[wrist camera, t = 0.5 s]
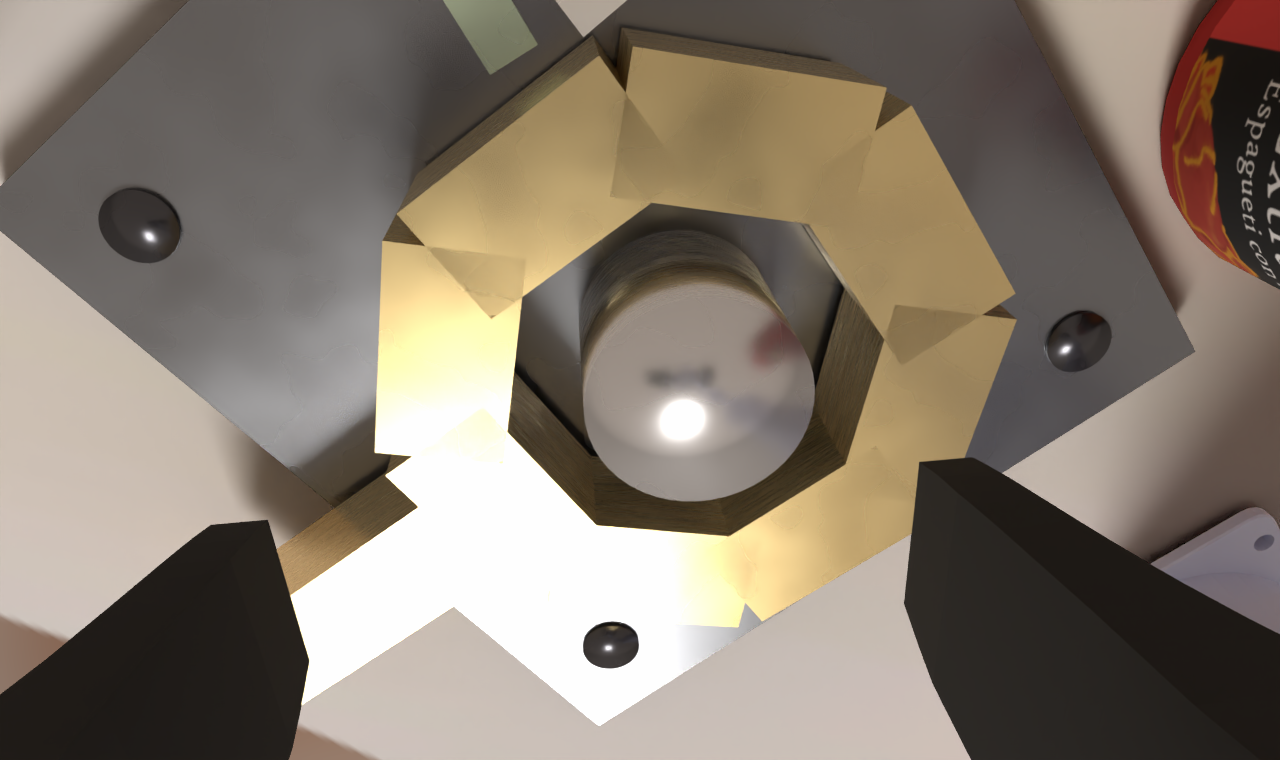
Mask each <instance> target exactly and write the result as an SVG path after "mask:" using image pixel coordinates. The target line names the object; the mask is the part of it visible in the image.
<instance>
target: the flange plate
mask: <svg viewBox="0 0 1280 760" xmlns="http://www.w3.org/2000/svg"><path fill="white" fill-rule="evenodd" d="M621 27H624V28H630V29H636V30H642V31H648V32H654V33H660V34H666V35H672V36H678V37H684V38H691V39H697V40H703V41H709V42H715V43H721V44H727V45H733V46H739V47H745V48H751V49H757V50H763V51H769V52H776V53H782V54H788V55H794V56H800V57H806V58H812V59H818V60H824V61H830V62H836V63H842V64H843V65H845V66H847V67H849V68H851V69H853V70H855V71H857V72H859V73H860V74H862V75H864V76H866V77H868V78H870V79H872V80H874V81H876V82H877V83H879V84H881V85H883V86H885V87H887V89H886V92H888V93H890V94H892V95H894V96H895V97H897V98H899V99H901V100H903V101H905V102H907V103H908V104H910V105H912V107H913V108H914V110H915V112H916V114H917V116H918V118H919V119H920V121H921V123H922V125H923V127H924V128H925V130H926V132H927V134H928V136H929V137H930V139H931V141H932V143H933V145H934V147H935V148H936V150H937V152H938V154H939V156H940V157H941V159H942V161H943V163H944V165H945V166H946V168H947V170H948V172H949V174H950V175H951V177H952V179H953V181H954V183H955V185H956V186H957V188H958V190H959V192H960V194H961V195H962V197H963V199H964V201H965V203H966V204H967V206H968V208H969V210H970V212H971V214H972V215H973V217H974V219H975V221H976V223H977V224H978V226H979V228H980V230H981V232H982V233H983V235H984V237H985V239H986V241H987V242H988V244H989V246H990V248H991V250H992V252H993V253H994V255H995V257H996V259H997V261H998V262H999V264H1000V266H1001V268H1002V270H1003V271H1004V273H1005V275H1006V277H1007V279H1008V281H1009V282H1010V284H1011V286H1012V288H1013V290H1014V291H1015V293H1016V294H1014V295H1013V296H1011V297H1009V298H1008V299H1006V300H1005V301H1003V302H1002V303H1000V305H1001V306H1002V307H1003V308H1004V309H1006V310H1007V311H1008V312H1009V313H1010V314H1011V315H1012V316H1013V317H1015V318H1016V319H1017V321H1016V323H1015V326H1014V329H1013V331H1012V334H1011V337H1010V339H1009V342H1008V344H1007V347H1006V350H1005V352H1004V355H1003V358H1002V360H1001V363H1000V365H999V368H998V371H997V373H996V376H995V379H994V381H993V384H992V387H991V389H990V392H989V394H988V397H987V400H986V402H985V405H984V408H983V410H982V413H981V416H980V418H979V421H978V423H977V426H976V429H975V431H974V434H973V437H972V439H971V442H970V444H969V447H968V450H967V452H966V455H965V458H968V457H973V458H975V459H977V460H979V461H981V462H983V463H985V464H986V465H988V466H990V467H992V468H993V469H995V470H997V471H999V472H1000V473H1003V472H1004V471H1006V470H1007V469H1009V468H1011V467H1012V466H1014V465H1015V464H1017V463H1019V462H1020V461H1022V460H1023V459H1025V458H1026V457H1028V456H1030V455H1031V454H1033V453H1034V452H1036V451H1038V450H1039V449H1041V448H1042V447H1044V446H1046V445H1047V444H1049V443H1050V442H1052V441H1054V440H1055V439H1057V438H1058V437H1060V436H1062V435H1063V434H1065V433H1066V432H1068V431H1070V430H1071V429H1073V428H1074V427H1076V426H1077V425H1079V424H1081V423H1082V422H1084V421H1085V420H1087V419H1089V418H1090V417H1092V416H1093V415H1095V414H1097V413H1098V412H1100V411H1101V410H1103V409H1105V408H1106V407H1108V406H1109V405H1111V404H1113V403H1114V402H1116V401H1117V400H1119V399H1121V398H1122V397H1124V396H1125V395H1127V394H1128V393H1130V392H1132V391H1133V390H1135V389H1136V388H1138V387H1140V386H1141V385H1143V384H1144V383H1146V382H1148V381H1149V380H1151V379H1152V378H1154V377H1156V376H1157V375H1159V374H1160V373H1162V372H1164V371H1165V370H1167V369H1168V368H1170V367H1172V366H1173V365H1175V364H1176V363H1178V362H1179V361H1181V360H1183V359H1184V358H1186V357H1187V356H1189V355H1191V354H1192V353H1194V352H1195V350H1194V348H1193V346H1192V344H1191V342H1190V340H1189V338H1188V336H1187V334H1186V332H1185V330H1184V329H1183V327H1182V325H1181V323H1180V321H1179V319H1178V317H1177V315H1176V313H1175V311H1174V309H1173V307H1172V305H1171V303H1170V301H1169V299H1168V297H1167V296H1166V294H1165V292H1164V290H1163V288H1162V286H1161V284H1160V282H1159V280H1158V278H1157V276H1156V274H1155V272H1154V270H1153V268H1152V266H1151V265H1150V263H1149V261H1148V259H1147V257H1146V255H1145V253H1144V251H1143V249H1142V247H1141V245H1140V243H1139V241H1138V239H1137V237H1136V235H1135V234H1134V232H1133V230H1132V228H1131V226H1130V224H1129V222H1128V220H1127V218H1126V216H1125V214H1124V212H1123V210H1122V208H1121V206H1120V204H1119V202H1118V201H1117V199H1116V197H1115V195H1114V193H1113V191H1112V189H1111V187H1110V185H1109V183H1108V181H1107V179H1106V177H1105V175H1104V173H1103V171H1102V170H1101V168H1100V166H1099V164H1098V162H1097V160H1096V158H1095V156H1094V154H1093V152H1092V150H1091V148H1090V146H1089V144H1088V142H1087V140H1086V138H1085V137H1084V135H1083V133H1082V131H1081V129H1080V127H1079V125H1078V123H1077V121H1076V119H1075V117H1074V115H1073V113H1072V111H1071V109H1070V107H1069V106H1068V104H1067V102H1066V100H1065V98H1064V96H1063V94H1062V92H1061V90H1060V88H1059V86H1058V84H1057V82H1056V80H1055V78H1054V76H1053V75H1052V73H1051V71H1050V69H1049V67H1048V65H1047V63H1046V61H1045V59H1044V57H1043V55H1042V53H1041V51H1040V49H1039V47H1038V45H1037V43H1036V42H1035V40H1034V38H1033V36H1032V34H1031V32H1030V30H1029V28H1028V26H1027V24H1026V22H1025V20H1024V18H1023V16H1022V14H1021V12H1020V11H1019V9H1018V7H1017V5H1016V3H1015V1H1014V0H189V1H188V2H187V3H186V4H185V5H184V6H183V7H182V8H181V9H180V10H179V11H178V12H177V13H176V14H175V15H174V16H173V17H172V18H171V19H170V20H169V21H168V22H167V23H166V24H165V25H164V26H163V27H162V28H161V29H160V30H159V31H157V32H156V33H155V34H154V35H153V36H152V37H151V38H150V39H149V40H148V41H147V42H146V43H145V44H144V45H143V46H142V47H141V48H140V49H139V50H138V51H137V52H136V53H135V54H134V55H133V56H132V57H131V58H130V59H129V60H128V61H127V62H126V63H125V64H124V65H123V66H122V67H121V68H120V69H119V70H118V71H117V72H116V73H115V74H114V75H113V76H112V77H111V78H110V79H109V80H108V81H107V82H106V83H105V84H104V85H103V86H102V87H101V88H100V89H99V90H98V91H97V92H96V93H95V94H94V95H93V96H92V97H91V98H90V99H89V100H88V101H87V102H86V103H85V104H84V105H82V106H81V107H80V108H79V109H78V110H77V111H76V112H75V113H74V114H73V115H72V116H71V117H70V118H69V119H68V120H67V121H66V122H65V123H64V124H63V125H62V126H61V127H60V128H59V129H58V130H57V131H56V132H55V133H54V134H53V135H52V136H51V137H50V138H49V139H48V140H47V141H46V142H45V143H44V144H43V145H42V146H41V147H40V148H39V149H38V150H37V151H36V152H35V153H34V154H33V155H32V156H31V157H30V158H29V159H28V160H27V161H26V162H25V163H24V164H23V165H22V166H21V167H20V168H19V169H18V170H17V171H16V172H15V173H14V174H13V175H12V176H11V177H10V178H9V179H8V180H6V181H5V182H4V183H3V184H2V185H1V186H0V231H1V232H2V233H3V234H5V235H6V236H7V237H8V238H9V239H11V240H12V241H13V242H14V243H16V244H17V245H18V246H19V247H20V248H22V249H23V250H24V251H25V252H26V253H28V254H29V255H30V256H31V257H32V258H34V259H35V260H36V261H37V262H38V263H40V264H41V265H42V266H43V267H45V268H46V269H47V270H48V271H49V272H51V273H52V274H53V275H54V276H55V277H57V278H58V279H59V280H60V281H61V282H63V283H64V284H65V285H66V286H68V287H69V288H70V289H71V290H72V291H74V292H75V293H76V294H77V295H78V296H80V297H81V298H82V299H83V300H84V301H86V302H87V303H88V304H89V305H90V306H92V307H93V308H94V309H95V310H97V311H98V312H99V313H100V314H101V315H103V316H104V317H105V318H106V319H107V320H109V321H110V322H111V323H112V324H113V325H115V326H116V327H117V328H118V329H120V330H121V331H122V332H123V333H124V334H126V335H127V336H128V337H129V338H130V339H132V340H133V341H134V342H135V343H136V344H138V345H139V346H140V347H141V348H142V349H144V350H145V351H146V352H147V353H149V354H150V355H151V356H152V357H153V358H155V359H156V360H157V361H158V362H159V363H161V364H162V365H163V366H164V367H165V368H167V369H168V370H169V371H170V372H171V373H173V374H174V375H175V376H176V377H178V378H179V379H180V380H181V381H182V382H184V383H185V384H186V385H187V386H188V387H190V388H191V389H192V390H193V391H194V392H196V393H197V394H198V395H199V396H201V397H202V398H203V399H204V400H205V401H207V402H208V403H209V404H210V405H211V406H213V407H214V408H215V409H216V410H217V411H219V412H220V413H221V414H222V415H223V416H225V417H226V418H227V419H228V420H230V421H231V422H232V423H233V424H234V425H236V426H237V427H238V428H239V429H240V430H242V431H243V432H244V433H245V434H246V435H248V436H249V437H250V438H251V439H253V440H254V441H255V442H256V443H257V444H259V445H260V446H261V447H262V448H263V449H265V450H266V451H267V452H268V453H269V454H271V455H272V456H273V457H274V458H275V459H277V460H278V461H279V462H280V463H282V464H283V465H284V466H285V467H286V468H288V469H289V470H290V471H291V472H292V473H294V474H295V475H296V476H297V477H298V478H300V479H301V480H302V481H303V482H305V483H306V484H307V485H308V486H309V487H311V488H312V489H313V490H314V491H315V492H317V493H318V494H319V495H320V496H321V497H323V498H324V499H325V500H326V501H327V502H329V503H330V504H331V505H332V506H334V507H335V508H336V507H337V506H339V505H340V504H342V503H343V502H344V501H346V500H347V499H349V498H350V497H352V496H353V495H354V494H356V493H357V492H359V491H360V490H361V489H363V488H364V487H366V486H367V485H369V484H370V483H371V482H373V481H374V480H376V479H377V478H378V477H380V476H381V475H383V474H384V473H386V472H387V469H388V465H389V462H390V458H391V455H392V454H385V453H375V432H376V404H377V375H378V347H379V319H380V291H381V263H382V240H383V238H384V237H385V235H386V233H387V231H388V229H389V227H390V225H391V223H392V221H393V219H394V217H395V215H396V213H397V211H398V210H399V208H400V206H401V204H402V202H403V200H404V198H405V196H406V194H407V193H408V191H409V189H410V187H411V185H412V183H413V181H414V179H415V177H416V175H417V173H418V172H420V171H421V170H422V169H423V168H425V167H426V166H427V165H428V164H430V163H431V162H432V161H434V160H435V159H436V158H437V157H439V156H440V155H441V154H442V153H444V152H445V151H446V150H447V149H449V148H450V147H451V146H453V145H454V144H455V143H456V142H458V141H459V140H460V139H461V138H463V137H464V136H465V135H466V134H468V133H469V132H470V131H472V130H473V129H474V128H475V127H477V126H478V125H479V124H480V123H482V122H483V121H484V120H486V119H487V118H488V117H489V116H491V115H492V114H493V113H494V112H496V111H497V110H498V109H499V108H501V107H502V106H503V105H505V104H506V103H507V102H508V101H510V100H511V99H512V98H513V97H515V96H516V95H517V94H518V93H520V92H521V91H522V90H524V89H525V88H526V87H527V86H529V85H530V84H531V83H532V82H534V81H535V80H536V79H537V78H539V77H540V76H541V75H543V74H544V73H545V72H546V71H548V70H549V69H550V68H551V67H553V66H554V65H555V64H556V63H558V62H559V61H560V60H562V59H563V58H564V57H565V56H567V55H568V54H569V53H570V52H572V51H573V50H574V49H576V48H577V47H578V46H579V45H581V44H582V43H583V42H584V41H586V40H587V39H588V38H589V37H591V36H592V35H593V36H594V38H595V39H596V41H597V42H598V43H599V45H600V46H601V48H602V49H603V50H604V52H605V53H606V55H607V56H608V58H609V59H610V60H611V62H612V63H613V65H614V66H615V68H616V62H617V55H618V48H619V41H620V34H621ZM843 290H844V287H843V285H842V284H841V282H840V280H839V279H838V277H837V276H836V274H835V273H834V271H833V270H832V268H831V267H830V265H829V264H828V262H827V261H826V259H825V258H824V256H823V255H822V253H821V252H820V250H819V249H818V247H817V246H816V244H815V242H814V241H813V239H812V238H811V236H810V235H809V233H808V232H807V230H806V229H805V227H804V226H803V224H802V223H797V222H790V221H783V220H775V219H768V218H761V217H753V216H746V215H739V214H731V213H724V212H717V211H709V210H702V209H694V208H687V207H680V206H672V205H665V204H658V203H651V204H649V205H648V206H647V207H645V208H644V209H643V210H641V211H640V212H638V213H637V214H636V215H634V216H633V217H632V218H630V219H629V220H627V221H626V222H625V223H623V224H622V225H621V226H619V227H618V228H616V229H615V230H614V231H612V232H611V233H610V234H608V235H607V236H605V237H604V238H603V239H601V240H600V241H599V242H597V243H596V244H594V245H593V246H592V247H590V248H589V249H588V250H586V251H585V252H583V253H582V254H581V255H579V256H578V257H577V258H575V259H574V260H573V261H571V262H570V263H568V264H567V265H566V266H564V267H563V268H562V269H560V270H559V271H557V272H556V273H555V274H553V275H552V276H551V277H549V278H548V279H546V280H545V281H544V282H542V283H541V284H540V285H538V286H537V287H535V288H534V289H533V290H531V291H530V292H529V293H527V294H526V295H524V296H523V297H522V304H521V313H520V322H519V331H518V340H517V349H516V358H515V367H514V372H515V373H516V374H517V375H518V376H519V377H520V378H521V379H522V381H523V382H524V383H525V384H526V385H527V386H528V387H529V388H530V389H531V390H532V392H533V393H534V394H535V395H536V396H537V397H538V398H539V399H540V400H541V401H542V402H543V404H544V405H545V406H546V407H547V408H548V409H549V410H550V411H551V412H552V413H553V415H554V416H555V417H556V418H557V419H558V420H559V421H560V422H561V423H562V424H563V425H564V427H565V428H566V429H567V430H568V431H569V432H570V433H571V434H572V435H573V436H574V438H575V439H576V440H577V441H578V442H579V443H580V444H581V445H582V446H583V447H584V448H585V450H586V451H587V452H588V453H589V454H590V455H591V456H595V457H600V459H601V460H602V461H603V463H604V464H605V465H606V466H607V467H608V469H609V470H610V471H612V472H613V473H614V474H615V475H616V476H617V477H618V478H619V479H621V480H622V481H624V482H625V483H627V484H628V485H630V486H632V487H634V488H636V489H638V490H640V491H642V492H644V493H647V494H650V495H652V496H655V497H659V498H664V499H668V500H676V501H705V500H713V499H717V498H722V497H726V496H729V495H732V494H735V493H738V492H741V491H743V490H745V489H747V488H749V487H752V486H753V485H755V484H757V483H758V482H760V481H762V480H763V479H765V478H766V477H768V476H769V475H770V474H772V473H773V472H774V471H776V470H777V469H778V468H779V467H780V466H781V465H782V464H783V463H784V462H785V461H786V460H787V459H788V458H789V456H790V455H791V454H792V453H793V452H794V450H795V449H796V447H797V446H798V444H799V443H800V441H801V440H802V438H803V436H804V434H805V432H806V430H807V427H808V425H809V422H810V419H811V415H812V411H813V406H814V397H815V390H816V386H817V382H818V379H819V375H820V372H821V368H822V365H823V361H824V358H825V354H826V350H827V347H828V343H829V340H830V336H831V333H832V329H833V326H834V322H835V319H836V315H837V311H838V308H839V304H840V301H841V297H842V294H843ZM547 595H548V591H547V592H546V593H544V594H542V595H541V596H539V597H538V598H536V599H535V600H533V601H531V602H530V603H528V604H527V605H524V604H523V603H521V602H520V601H519V600H518V599H517V598H516V597H515V596H514V595H513V594H512V593H511V592H510V591H509V590H507V589H506V588H505V587H504V586H503V585H502V584H501V583H500V582H499V581H498V580H497V579H494V580H493V581H491V582H490V583H488V584H487V585H485V586H484V587H482V588H481V589H479V590H477V591H476V592H474V593H473V594H471V595H470V596H468V597H467V598H465V599H464V600H462V601H461V602H459V603H457V604H456V605H454V607H456V608H457V609H458V610H459V611H460V612H462V613H463V614H464V615H465V616H467V617H468V618H469V619H470V620H471V621H473V622H474V623H475V624H476V625H477V626H479V627H480V628H481V629H482V630H483V631H485V632H486V633H487V634H488V635H490V636H491V637H492V638H493V639H494V640H496V641H497V642H498V643H499V644H500V645H502V646H503V647H504V648H505V649H506V650H508V651H509V652H510V653H511V654H512V655H514V656H515V657H516V658H517V659H519V660H520V661H521V662H522V663H523V664H525V665H526V666H527V667H528V668H529V669H531V670H532V671H533V672H534V673H535V674H537V675H538V676H539V677H540V678H542V679H543V680H544V681H545V682H546V683H548V684H549V685H550V686H551V687H552V688H554V689H555V690H556V691H557V692H558V693H560V694H561V695H562V696H563V697H564V698H566V699H567V700H568V701H569V702H571V703H572V704H573V705H574V706H575V707H577V708H578V709H579V710H580V711H581V712H583V713H584V714H585V715H586V716H587V717H589V718H590V719H591V720H592V721H594V722H595V723H596V724H597V725H598V726H599V725H601V724H603V723H604V722H606V721H607V720H609V719H611V718H612V717H614V716H615V715H617V714H619V713H620V712H622V711H623V710H625V709H627V708H628V707H630V706H631V705H633V704H635V703H636V702H638V701H639V700H641V699H642V698H644V697H646V696H647V695H649V694H650V693H652V692H654V691H655V690H657V689H658V688H660V687H662V686H663V685H665V684H666V683H668V682H670V681H671V680H673V679H674V678H676V677H678V676H679V675H681V674H682V673H684V672H686V671H687V670H689V669H690V668H692V667H693V666H695V665H697V664H698V663H700V662H701V661H703V660H705V659H706V658H708V657H709V656H711V655H713V654H714V653H716V652H717V651H719V650H721V649H722V648H724V647H725V646H727V645H729V644H730V643H732V642H733V641H735V640H736V639H738V638H740V637H741V636H743V635H744V634H746V633H748V632H749V631H751V630H752V629H754V628H756V627H757V626H759V625H760V624H762V623H764V622H765V621H767V620H768V619H770V618H772V617H773V616H775V615H776V614H778V613H780V612H781V611H783V610H784V609H783V610H781V611H779V612H778V613H776V614H774V615H773V616H771V617H769V618H768V619H766V620H764V621H761V620H760V618H759V617H758V616H757V615H756V614H755V613H754V612H753V611H752V610H751V608H750V607H749V606H748V605H747V604H746V603H745V605H744V609H743V612H742V616H741V620H740V623H739V627H723V626H708V625H693V624H677V623H662V622H647V621H631V620H616V619H601V618H586V617H570V616H555V615H547ZM801 599H802V598H801ZM798 601H799V600H798ZM796 602H797V601H796ZM793 604H794V603H793ZM791 605H792V604H791ZM791 605H790V606H791ZM788 607H789V606H788ZM786 608H787V607H786ZM786 608H785V609H786Z"/></svg>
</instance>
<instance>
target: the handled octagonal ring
mask: <svg viewBox="0 0 1280 760" xmlns="http://www.w3.org/2000/svg"><path fill="white" fill-rule="evenodd" d="M886 89H887V87H885V86H883V85H881V84H879V83H877V82H876V81H874V80H872V79H870V78H868V77H866V76H864V75H862V74H860V73H859V72H857V71H855V70H853V69H851V68H849V67H847V66H845V65H843V64H842V63H836V62H830V61H824V60H818V59H812V58H806V57H800V56H794V55H788V54H782V53H776V52H769V51H763V50H757V49H751V48H745V47H739V46H733V45H727V44H721V43H715V42H709V41H703V40H697V39H691V38H684V37H678V36H672V35H666V34H660V33H654V32H648V31H642V30H636V29H630V28H624V27H621V34H620V41H619V48H618V55H617V62H616V68H615V66H614V65H613V63H612V62H611V60H610V59H609V58H608V56H607V55H606V53H605V52H604V50H603V49H602V48H601V46H600V45H599V43H598V42H597V41H596V39H595V38H594V36H593V35H592V36H591V37H589V38H588V39H587V40H586V41H584V42H583V43H582V44H581V45H579V46H578V47H577V48H576V49H574V50H573V51H572V52H570V53H569V54H568V55H567V56H565V57H564V58H563V59H562V60H560V61H559V62H558V63H556V64H555V65H554V66H553V67H551V68H550V69H549V70H548V71H546V72H545V73H544V74H543V75H541V76H540V77H539V78H537V79H536V80H535V81H534V82H532V83H531V84H530V85H529V86H527V87H526V88H525V89H524V90H522V91H521V92H520V93H518V94H517V95H516V96H515V97H513V98H512V99H511V100H510V101H508V102H507V103H506V104H505V105H503V106H502V107H501V108H499V109H498V110H497V111H496V112H494V113H493V114H492V115H491V116H489V117H488V118H487V119H486V120H484V121H483V122H482V123H480V124H479V125H478V126H477V127H475V128H474V129H473V130H472V131H470V132H469V133H468V134H466V135H465V136H464V137H463V138H461V139H460V140H459V141H458V142H456V143H455V144H454V145H453V146H451V147H450V148H449V149H447V150H446V151H445V152H444V153H442V154H441V155H440V156H439V157H437V158H436V159H435V160H434V161H432V162H431V163H430V164H428V165H427V166H426V167H425V168H423V169H422V170H421V171H420V172H418V173H417V175H416V177H415V179H414V181H413V183H412V185H411V187H410V189H409V191H408V193H407V194H406V196H405V198H404V200H403V202H402V204H401V206H400V208H399V210H398V211H397V213H396V215H395V217H394V219H393V221H392V223H391V225H390V227H389V229H388V231H387V233H386V235H385V237H384V238H383V240H382V263H381V291H380V319H379V347H378V375H377V404H376V432H375V453H385V454H392V455H391V458H390V462H389V465H388V469H387V472H386V473H384V474H383V475H381V476H380V477H378V478H377V479H376V480H374V481H373V482H371V483H370V484H369V485H367V486H366V487H364V488H363V489H361V490H360V491H359V492H357V493H356V494H354V495H353V496H352V497H350V498H349V499H347V500H346V501H344V502H343V503H342V504H340V505H339V506H337V507H336V508H334V509H333V510H332V511H330V512H329V513H327V514H326V515H325V516H323V517H322V518H320V519H319V520H317V521H316V522H315V523H313V524H312V525H310V526H309V527H308V528H306V529H305V530H303V531H302V532H300V533H299V534H298V535H296V536H295V537H293V538H292V539H290V540H289V541H288V542H286V543H285V544H283V545H282V546H281V547H279V548H278V549H277V553H278V556H279V559H280V563H281V566H282V569H283V573H284V576H285V579H286V583H287V586H288V589H289V593H290V596H291V600H292V603H293V606H294V610H295V613H296V616H297V620H298V623H299V626H300V630H301V633H302V636H303V640H304V643H305V646H306V650H307V653H308V657H309V660H310V662H309V668H308V673H307V678H306V684H305V689H304V695H303V700H302V704H304V703H305V702H307V701H308V700H310V699H311V698H313V697H314V696H316V695H317V694H319V693H320V692H322V691H324V690H325V689H327V688H328V687H330V686H331V685H333V684H334V683H336V682H337V681H339V680H340V679H342V678H344V677H345V676H347V675H348V674H350V673H351V672H353V671H354V670H356V669H357V668H359V667H360V666H362V665H364V664H365V663H367V662H368V661H370V660H371V659H373V658H374V657H376V656H377V655H379V654H380V653H382V652H384V651H385V650H387V649H388V648H390V647H391V646H393V645H394V644H396V643H397V642H399V641H400V640H402V639H404V638H405V637H407V636H408V635H410V634H411V633H413V632H414V631H416V630H417V629H419V628H421V627H422V626H424V625H425V624H427V623H428V622H430V621H431V620H433V619H434V618H436V617H437V616H439V615H441V614H442V613H444V612H445V611H447V610H448V609H450V608H451V607H453V606H454V605H456V604H457V603H459V602H461V601H462V600H464V599H465V598H467V597H468V596H470V595H471V594H473V593H474V592H476V591H477V590H479V589H481V588H482V587H484V586H485V585H487V584H488V583H490V582H491V581H493V580H494V579H497V580H498V581H499V582H500V583H501V584H502V585H503V586H504V587H505V588H506V589H507V590H509V591H510V592H511V593H512V594H513V595H514V596H515V597H516V598H517V599H518V600H519V601H520V602H521V603H523V604H524V605H527V604H528V603H530V602H531V601H533V600H535V599H536V598H538V597H539V596H541V595H542V594H544V593H546V592H547V591H548V595H547V615H555V616H570V617H586V618H601V619H616V620H631V621H647V622H662V623H677V624H693V625H708V626H723V627H739V623H740V620H741V616H742V612H743V609H744V605H745V603H746V604H747V605H748V606H749V607H750V608H751V610H752V611H753V612H754V613H755V614H756V615H757V616H758V617H759V618H760V620H761V621H764V620H766V619H768V618H769V617H771V616H773V615H774V614H776V613H778V612H779V611H781V610H783V609H785V608H786V607H788V606H790V605H791V604H793V603H795V602H796V601H798V600H800V599H801V598H803V597H805V596H807V595H808V594H810V593H812V592H813V591H815V590H817V589H818V588H820V587H822V586H823V585H825V584H827V583H829V582H830V581H832V580H834V579H835V578H837V577H839V576H840V575H842V574H844V573H846V572H847V571H849V570H851V569H852V568H854V567H856V566H857V565H859V564H861V563H862V562H864V561H866V560H868V559H869V558H871V557H873V556H874V555H876V554H878V553H879V552H881V551H883V550H885V549H886V548H888V547H890V546H891V545H893V544H895V543H896V542H898V541H900V540H901V539H903V538H905V537H907V536H908V535H910V534H912V525H913V516H914V506H915V497H916V487H917V478H918V469H919V462H923V461H935V460H946V459H957V458H965V455H966V452H967V450H968V447H969V444H970V442H971V439H972V437H973V434H974V431H975V429H976V426H977V423H978V421H979V418H980V416H981V413H982V410H983V408H984V405H985V402H986V400H987V397H988V394H989V392H990V389H991V387H992V384H993V381H994V379H995V376H996V373H997V371H998V368H999V365H1000V363H1001V360H1002V358H1003V355H1004V352H1005V350H1006V347H1007V344H1008V342H1009V339H1010V337H1011V334H1012V331H1013V329H1014V326H1015V323H1016V321H1017V319H1016V318H1015V317H1013V316H1012V315H1011V314H1010V313H1009V312H1008V311H1007V310H1006V309H1004V308H1003V307H1002V306H1001V305H1000V303H1002V302H1003V301H1005V300H1006V299H1008V298H1009V297H1011V296H1013V295H1014V294H1016V293H1015V291H1014V290H1013V288H1012V286H1011V284H1010V282H1009V281H1008V279H1007V277H1006V275H1005V273H1004V271H1003V270H1002V268H1001V266H1000V264H999V262H998V261H997V259H996V257H995V255H994V253H993V252H992V250H991V248H990V246H989V244H988V242H987V241H986V239H985V237H984V235H983V233H982V232H981V230H980V228H979V226H978V224H977V223H976V221H975V219H974V217H973V215H972V214H971V212H970V210H969V208H968V206H967V204H966V203H965V201H964V199H963V197H962V195H961V194H960V192H959V190H958V188H957V186H956V185H955V183H954V181H953V179H952V177H951V175H950V174H949V172H948V170H947V168H946V166H945V165H944V163H943V161H942V159H941V157H940V156H939V154H938V152H937V150H936V148H935V147H934V145H933V143H932V141H931V139H930V137H929V136H928V134H927V132H926V130H925V128H924V127H923V125H922V123H921V121H920V119H919V118H918V116H917V114H916V112H915V110H914V108H913V107H912V105H910V104H908V103H907V102H905V101H903V100H901V99H899V98H897V97H895V96H894V95H892V94H890V93H888V92H886ZM651 203H658V204H665V205H672V206H680V207H687V208H694V209H702V210H709V211H717V212H724V213H731V214H739V215H746V216H753V217H761V218H768V219H775V220H783V221H790V222H797V223H802V224H803V226H804V227H805V229H806V230H807V232H808V233H809V235H810V236H811V238H812V239H813V241H814V242H815V244H816V246H817V247H818V249H819V250H820V252H821V253H822V255H823V256H824V258H825V259H826V261H827V262H828V264H829V265H830V267H831V268H832V270H833V271H834V273H835V274H836V276H837V277H838V279H839V280H840V282H841V284H842V285H843V287H844V290H843V294H842V297H841V301H840V304H839V308H838V311H837V315H836V319H835V322H834V326H833V329H832V333H831V336H830V340H829V343H828V347H827V350H826V354H825V358H824V361H823V365H822V368H821V372H820V375H819V379H818V382H817V386H816V390H815V397H814V406H813V411H812V415H811V419H810V422H809V425H808V427H807V430H806V432H805V434H804V436H803V438H802V440H801V441H800V443H799V444H798V446H797V447H796V449H795V450H794V452H793V453H792V454H791V455H790V456H789V458H788V459H787V460H786V461H785V462H784V463H783V464H782V465H781V466H780V467H779V468H778V469H777V470H776V471H774V472H773V473H772V474H770V475H769V476H768V477H766V478H765V479H763V480H762V481H760V482H758V483H757V484H755V485H753V486H752V487H749V488H747V489H745V490H743V491H741V492H738V493H735V494H732V495H729V496H726V497H722V498H717V499H713V500H705V501H676V500H668V499H664V498H659V497H655V496H652V495H650V494H647V493H644V492H642V491H640V490H638V489H636V488H634V487H632V486H630V485H628V484H627V483H625V482H624V481H622V480H621V479H619V478H618V477H617V476H616V475H615V474H614V473H613V472H612V471H610V470H609V469H608V467H607V466H606V465H605V464H604V463H603V461H602V460H601V459H600V457H595V456H591V455H590V454H589V453H588V452H587V451H586V450H585V448H584V447H583V446H582V445H581V444H580V443H579V442H578V441H577V440H576V439H575V438H574V436H573V435H572V434H571V433H570V432H569V431H568V430H567V429H566V428H565V427H564V425H563V424H562V423H561V422H560V421H559V420H558V419H557V418H556V417H555V416H554V415H553V413H552V412H551V411H550V410H549V409H548V408H547V407H546V406H545V405H544V404H543V402H542V401H541V400H540V399H539V398H538V397H537V396H536V395H535V394H534V393H533V392H532V390H531V389H530V388H529V387H528V386H527V385H526V384H525V383H524V382H523V381H522V379H521V378H520V377H519V376H518V375H517V374H516V373H515V372H514V367H515V358H516V349H517V340H518V331H519V322H520V313H521V304H522V297H523V296H524V295H526V294H527V293H529V292H530V291H531V290H533V289H534V288H535V287H537V286H538V285H540V284H541V283H542V282H544V281H545V280H546V279H548V278H549V277H551V276H552V275H553V274H555V273H556V272H557V271H559V270H560V269H562V268H563V267H564V266H566V265H567V264H568V263H570V262H571V261H573V260H574V259H575V258H577V257H578V256H579V255H581V254H582V253H583V252H585V251H586V250H588V249H589V248H590V247H592V246H593V245H594V244H596V243H597V242H599V241H600V240H601V239H603V238H604V237H605V236H607V235H608V234H610V233H611V232H612V231H614V230H615V229H616V228H618V227H619V226H621V225H622V224H623V223H625V222H626V221H627V220H629V219H630V218H632V217H633V216H634V215H636V214H637V213H638V212H640V211H641V210H643V209H644V208H645V207H647V206H648V205H649V204H651Z"/></svg>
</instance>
